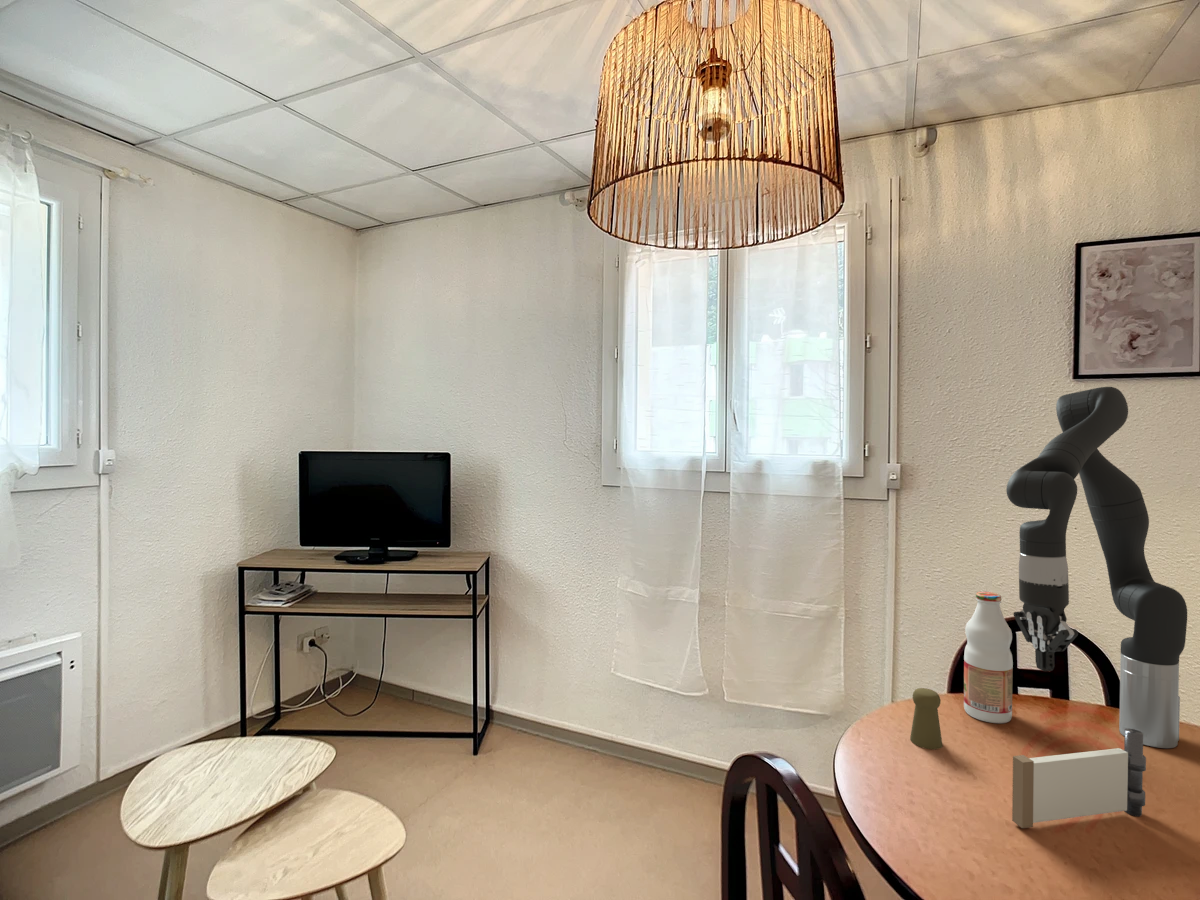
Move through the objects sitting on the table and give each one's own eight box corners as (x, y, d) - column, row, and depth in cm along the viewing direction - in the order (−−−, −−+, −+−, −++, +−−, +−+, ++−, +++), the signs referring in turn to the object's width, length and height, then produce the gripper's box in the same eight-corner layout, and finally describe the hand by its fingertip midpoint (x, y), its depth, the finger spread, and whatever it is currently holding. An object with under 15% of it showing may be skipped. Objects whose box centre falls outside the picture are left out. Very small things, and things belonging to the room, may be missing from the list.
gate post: (1128, 804, 107) (1129, 726, 107) (1149, 815, 104) (1151, 734, 104) (1115, 808, 106) (1117, 729, 106) (1136, 819, 103) (1138, 737, 103)
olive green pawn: (946, 750, 126) (947, 697, 126) (914, 748, 127) (915, 695, 127) (936, 736, 132) (937, 685, 132) (906, 733, 133) (906, 683, 133)
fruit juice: (981, 725, 136) (982, 600, 136) (954, 706, 146) (955, 589, 145) (1022, 723, 137) (1023, 599, 136) (992, 704, 146) (993, 588, 145)
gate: (1116, 807, 106) (1117, 744, 106) (1128, 814, 104) (1129, 750, 104) (1012, 820, 103) (1012, 756, 102) (1022, 828, 101) (1023, 762, 100)
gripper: (998, 571, 121) (1000, 658, 122) (1053, 588, 108) (1055, 685, 108) (1034, 569, 122) (1036, 655, 122) (1093, 585, 108) (1094, 682, 109)
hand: (1045, 669), depth 115 cm, fingers closed
